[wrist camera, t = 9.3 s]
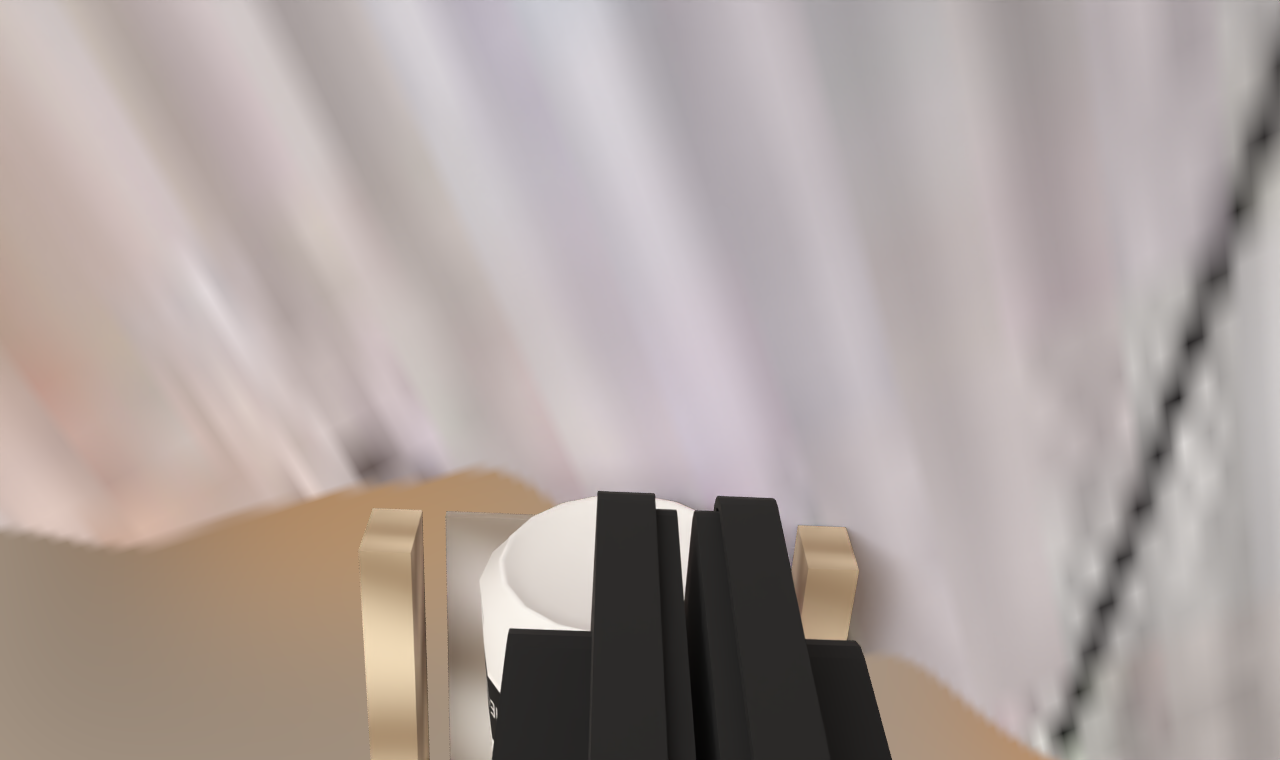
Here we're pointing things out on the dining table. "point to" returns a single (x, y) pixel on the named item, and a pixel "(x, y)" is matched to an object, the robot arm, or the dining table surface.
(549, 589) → the supplement can
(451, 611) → the rail cradle
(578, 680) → the robot arm
